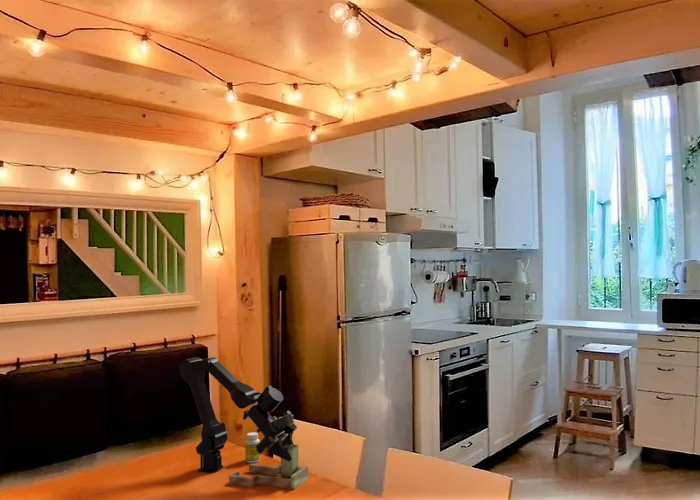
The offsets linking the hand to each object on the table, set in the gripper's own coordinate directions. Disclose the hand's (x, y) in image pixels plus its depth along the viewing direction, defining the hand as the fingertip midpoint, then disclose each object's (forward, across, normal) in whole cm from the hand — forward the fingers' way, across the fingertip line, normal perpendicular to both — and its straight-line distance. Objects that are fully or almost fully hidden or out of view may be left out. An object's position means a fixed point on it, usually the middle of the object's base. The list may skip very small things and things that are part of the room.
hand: (293, 458), depth 188 cm
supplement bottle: (-11, +14, +23) cm, 29 cm away
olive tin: (+4, 0, +6) cm, 7 cm away
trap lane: (0, 0, +11) cm, 11 cm away
